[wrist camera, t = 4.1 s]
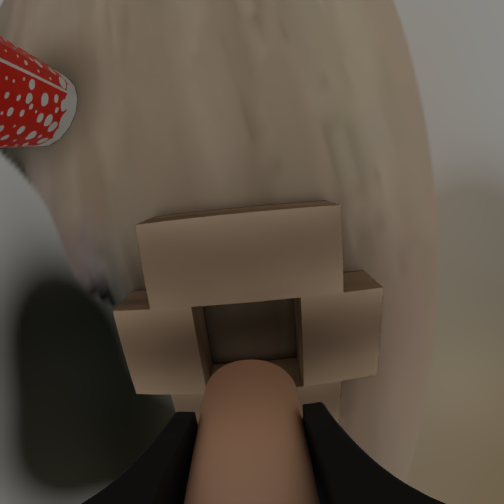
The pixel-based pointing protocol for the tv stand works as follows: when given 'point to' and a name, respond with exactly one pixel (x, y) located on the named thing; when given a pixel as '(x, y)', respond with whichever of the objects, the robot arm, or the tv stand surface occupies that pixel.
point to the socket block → (249, 298)
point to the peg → (251, 440)
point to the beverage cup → (32, 100)
